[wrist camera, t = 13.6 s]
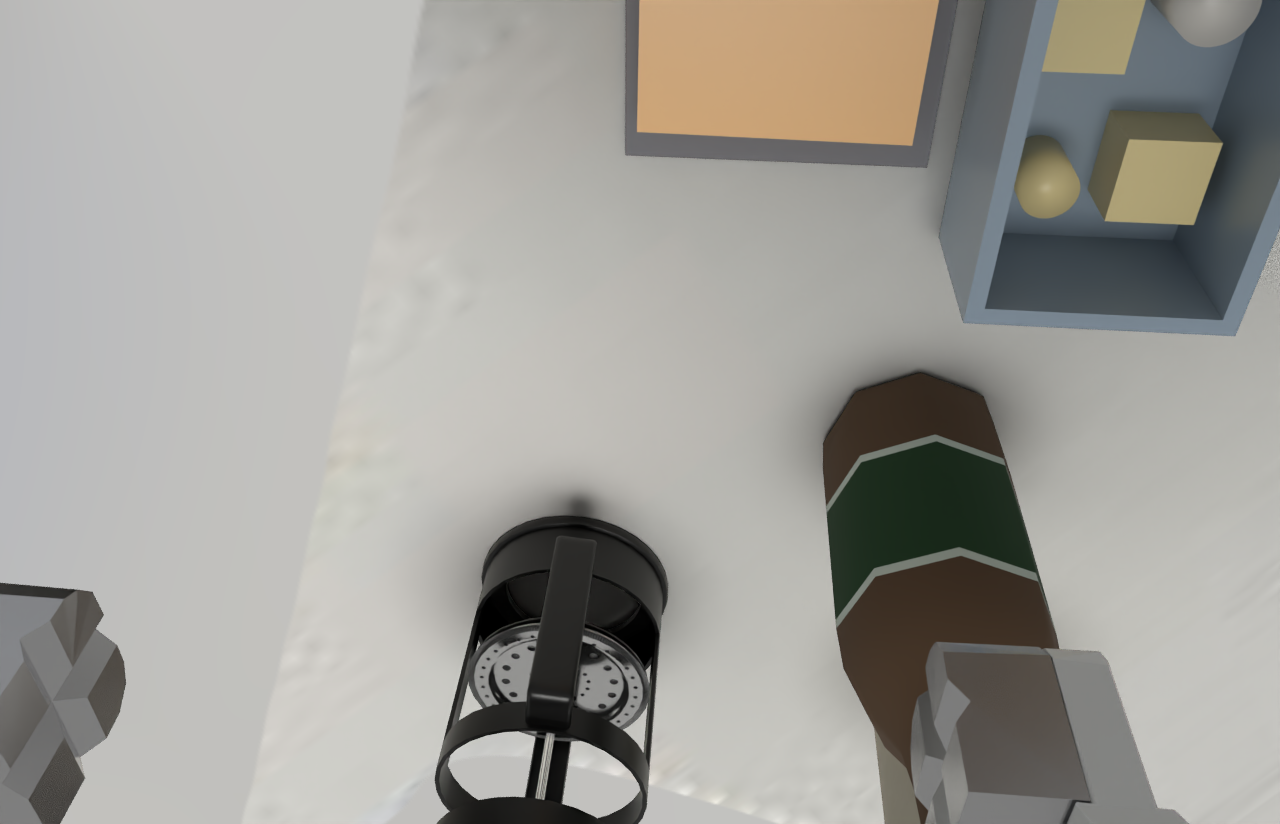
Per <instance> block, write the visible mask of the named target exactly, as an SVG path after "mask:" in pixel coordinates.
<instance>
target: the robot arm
mask: <svg viewBox="0 0 1280 824" xmlns="http://www.w3.org/2000/svg"><path fill="white" fill-rule="evenodd" d="M103 615H104V614H103V612H102V610H101V608H100V607H99V604H98V602H97V600H96V598H95V596H94V594H93V592H89V591H83V590H75V589H64V588H52V587H41V586H30V585H19V584H8V583H0V824H60V823H61V821H62V819H63V817H64V816H65V814H66V812H67V810H68V808H69V806H70V805H71V803H72V801H73V799H74V797H75V795H76V794H77V791H78V790H79V788H80V786H81V784H82V782H83V781H84V779H85V776H84V771H83V767H82V762H81V758H80V757H81V756H82V755H84V754H85V753H87V752H88V751H89V750H91V749H92V748H94V747H95V746H96V745H98V744H99V743H100V742H102V741H103V740H105V739H106V738H107V736H108V734H109V732H110V730H111V728H112V726H113V724H114V722H115V720H116V718H117V717H118V714H119V712H120V708H121V703H122V699H123V694H124V690H125V685H126V679H125V668H124V661H123V659H122V656H121V654H120V651H119V649H118V646H117V645H116V644H115V643H114V642H112V641H111V640H110V639H108V638H107V637H106V636H104V635H103V634H102V633H100V632H99V631H98V630H96V627H97V625H98V624H99V622H100V620H101V619H102V617H103ZM925 670H926V676H927V683H928V689H929V690H927V691H926V692H924V693H923V694H922V695H920V696H919V697H917V701H916V706H915V710H914V715H913V719H912V732H911V746H910V750H911V768H912V778H913V786H914V794H915V796H916V797H917V798H918V799H919V801H920V802H921V803H922V804H923V805H924V806H925V807H926V809H927V810H928V815H927V818H926V822H925V824H1189V823H1188V822H1187V821H1186V820H1185V819H1184V818H1183V817H1182V816H1181V815H1180V814H1179V813H1177V812H1176V811H1175V810H1172V809H1163V808H1157V805H1156V802H1155V799H1154V796H1153V793H1152V790H1151V787H1150V784H1149V781H1148V778H1147V775H1146V772H1145V769H1144V766H1143V764H1142V761H1141V758H1140V755H1139V752H1138V749H1137V746H1136V743H1135V740H1134V737H1133V734H1132V731H1131V728H1130V725H1129V722H1128V719H1127V716H1126V713H1125V710H1124V707H1123V704H1122V701H1121V698H1120V695H1119V692H1118V689H1117V686H1116V683H1115V681H1114V678H1113V675H1112V672H1111V669H1110V666H1109V663H1108V661H1107V659H1106V658H1105V657H1104V656H1103V655H1102V654H1101V653H1100V652H1097V651H1081V650H1065V649H1048V648H1044V649H1041V648H1040V647H1028V646H1008V645H988V644H968V643H948V642H935V643H934V645H933V646H932V648H931V649H930V652H929V655H928V659H927V663H926V666H925Z"/></svg>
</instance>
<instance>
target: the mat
mask: <svg viewBox="0 0 1280 824" xmlns="http://www.w3.org/2000/svg"><path fill="white" fill-rule="evenodd" d="M957 2H958V0H939V3H938V9H937V14H936V20H935V25H934V30H933V36H932V41H931V47H930V52H929V58H928V63H927V68H926V74H925V79H924V85H923V90H922V96H921V101H920V106H919V112H918V117H917V123H916V128H915V134H914V139H913V144H912V146H908V145H888V144H868V143H848V142H828V141H808V140H788V139H768V138H748V137H728V136H708V135H688V134H668V133H648V132H637V105H638V52H639V0H626V113H625V155H631V156H655V157H680V158H704V159H728V160H753V161H777V162H801V163H826V164H850V165H874V166H899V167H923V168H927V165H928V160H929V155H930V149H931V144H932V138H933V133H934V127H935V122H936V117H937V111H938V106H939V100H940V95H941V89H942V84H943V78H944V73H945V68H946V62H947V57H948V51H949V46H950V40H951V35H952V30H953V24H954V19H955V13H956V8H957Z"/></svg>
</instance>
